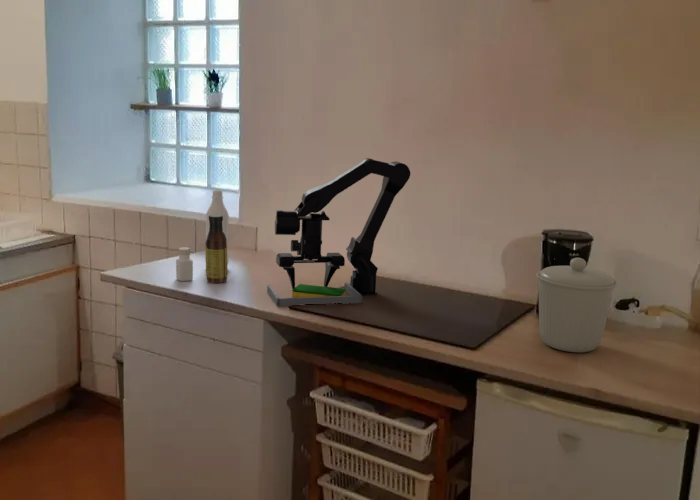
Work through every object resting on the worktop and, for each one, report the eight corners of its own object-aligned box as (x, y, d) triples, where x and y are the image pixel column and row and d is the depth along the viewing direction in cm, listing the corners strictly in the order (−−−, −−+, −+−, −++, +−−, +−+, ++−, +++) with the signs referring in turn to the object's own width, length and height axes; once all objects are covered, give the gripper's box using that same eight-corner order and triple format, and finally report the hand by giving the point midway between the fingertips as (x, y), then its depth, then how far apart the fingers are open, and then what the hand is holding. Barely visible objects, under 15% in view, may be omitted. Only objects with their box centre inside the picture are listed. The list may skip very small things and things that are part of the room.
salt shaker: (193, 280, 212) (193, 249, 210) (180, 282, 210) (180, 250, 208) (188, 277, 215) (188, 246, 213) (175, 279, 213) (175, 247, 211)
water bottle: (209, 265, 232) (210, 188, 227) (231, 267, 231) (232, 189, 226) (202, 270, 225) (202, 191, 220) (224, 272, 224) (225, 192, 219)
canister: (563, 362, 157) (574, 268, 152) (514, 337, 173) (522, 251, 169) (627, 354, 164) (638, 264, 160) (573, 330, 180) (582, 248, 176)
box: (346, 289, 210) (347, 282, 210) (362, 303, 196) (362, 296, 196) (267, 291, 203) (267, 285, 203) (277, 306, 189) (277, 299, 189)
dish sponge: (339, 303, 197) (340, 294, 196) (291, 298, 200) (291, 289, 199) (345, 296, 203) (346, 288, 203) (299, 291, 206) (299, 283, 206)
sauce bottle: (217, 277, 217) (217, 212, 213) (231, 281, 213) (232, 215, 209) (200, 281, 211) (200, 214, 207) (215, 285, 208) (216, 217, 204)
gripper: (335, 230, 211) (333, 281, 214) (273, 230, 206) (271, 282, 209) (346, 237, 201) (343, 291, 204) (280, 237, 195) (279, 292, 198)
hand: (309, 289), depth 204 cm, fingers open, 9 cm apart
